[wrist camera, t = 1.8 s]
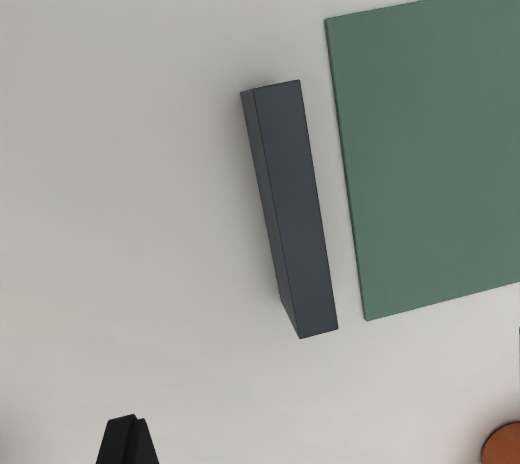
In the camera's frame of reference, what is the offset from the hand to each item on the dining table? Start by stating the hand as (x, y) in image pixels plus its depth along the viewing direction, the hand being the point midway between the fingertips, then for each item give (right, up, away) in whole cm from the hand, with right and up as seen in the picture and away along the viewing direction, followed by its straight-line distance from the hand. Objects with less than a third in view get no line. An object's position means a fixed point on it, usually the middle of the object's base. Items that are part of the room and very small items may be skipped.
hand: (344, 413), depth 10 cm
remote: (0, +6, +15) cm, 16 cm away
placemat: (+10, +9, +19) cm, 23 cm away
